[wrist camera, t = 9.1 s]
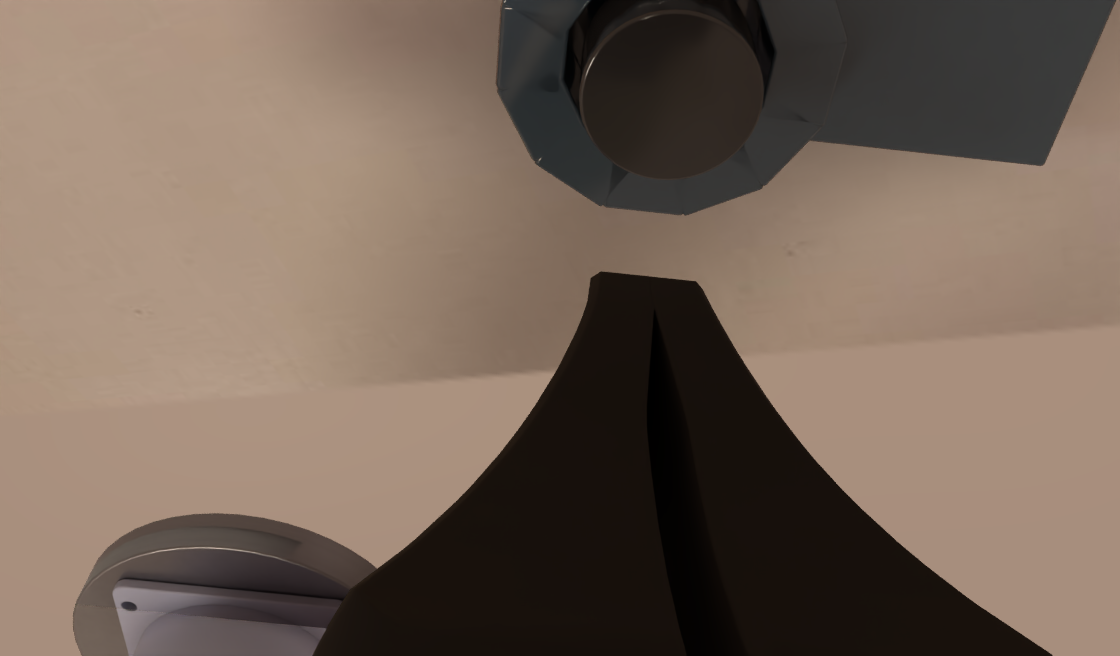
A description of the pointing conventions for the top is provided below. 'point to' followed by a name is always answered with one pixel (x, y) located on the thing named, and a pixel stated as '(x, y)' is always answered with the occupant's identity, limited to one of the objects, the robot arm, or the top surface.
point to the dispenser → (823, 86)
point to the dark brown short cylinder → (669, 85)
